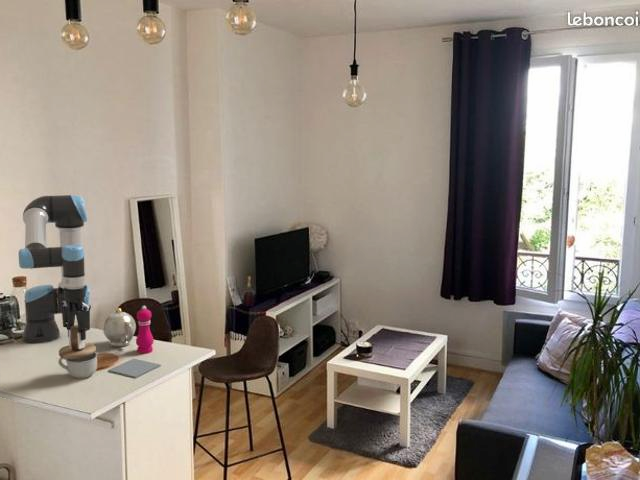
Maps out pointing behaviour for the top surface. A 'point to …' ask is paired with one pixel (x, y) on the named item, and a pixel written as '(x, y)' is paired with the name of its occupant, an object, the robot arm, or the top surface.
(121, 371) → the mat
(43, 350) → the top surface
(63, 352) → the lid
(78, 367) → the teacup
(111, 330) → the teapot
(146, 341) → the pepper mill
